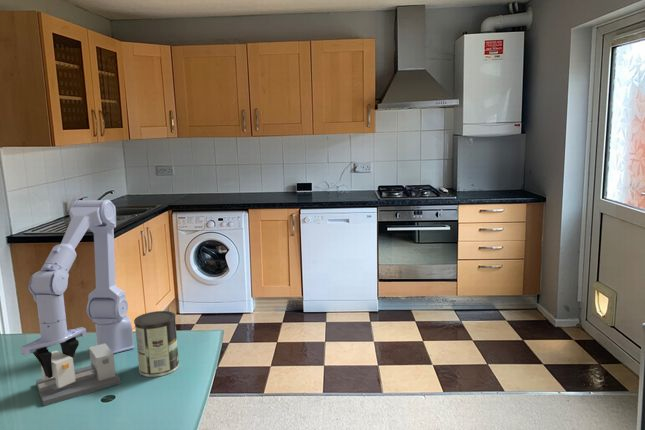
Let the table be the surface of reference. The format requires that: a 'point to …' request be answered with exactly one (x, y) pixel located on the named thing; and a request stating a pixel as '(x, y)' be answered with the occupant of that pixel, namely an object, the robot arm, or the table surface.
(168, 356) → the coffee can
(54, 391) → the rail board
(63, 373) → the block
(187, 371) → the table surface
